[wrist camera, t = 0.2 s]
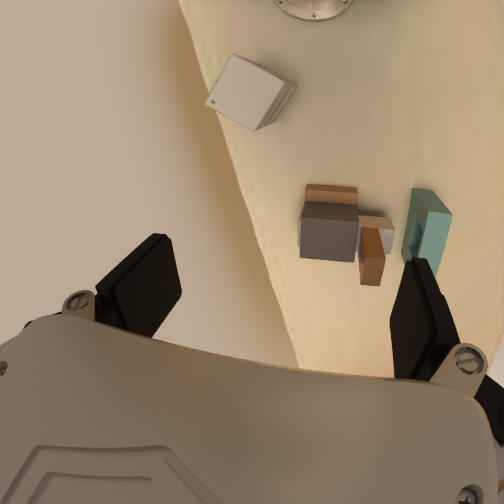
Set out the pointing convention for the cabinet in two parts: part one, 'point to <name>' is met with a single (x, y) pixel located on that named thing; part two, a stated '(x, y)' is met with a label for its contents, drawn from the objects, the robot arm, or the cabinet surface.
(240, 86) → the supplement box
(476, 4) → the cabinet surface
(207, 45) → the cabinet surface
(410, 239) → the socket
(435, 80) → the cabinet surface
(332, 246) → the grey block with backplate
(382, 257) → the multicoloured piece
